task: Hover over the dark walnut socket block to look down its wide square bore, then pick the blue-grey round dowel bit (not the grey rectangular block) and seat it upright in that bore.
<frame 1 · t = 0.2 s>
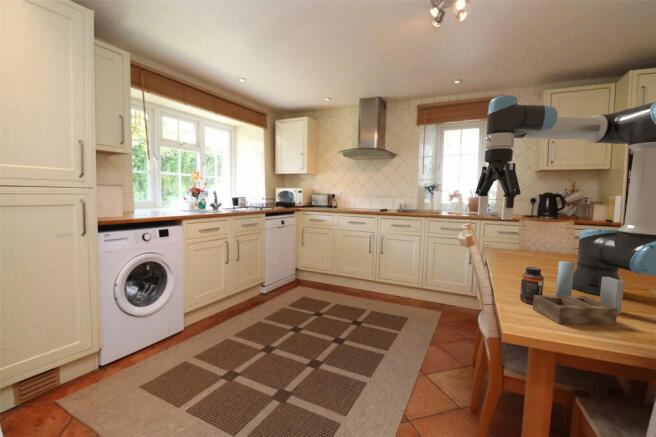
hand: (493, 217, 95), 27 cm above the table, tool pointing down, fingers open, 13 cm apart
supplement bottle: (530, 302, 98), on the table
dowel bit: (562, 300, 99), on the table
grey rectangular block: (609, 310, 92), on the table
socket block: (571, 316, 86), on the table
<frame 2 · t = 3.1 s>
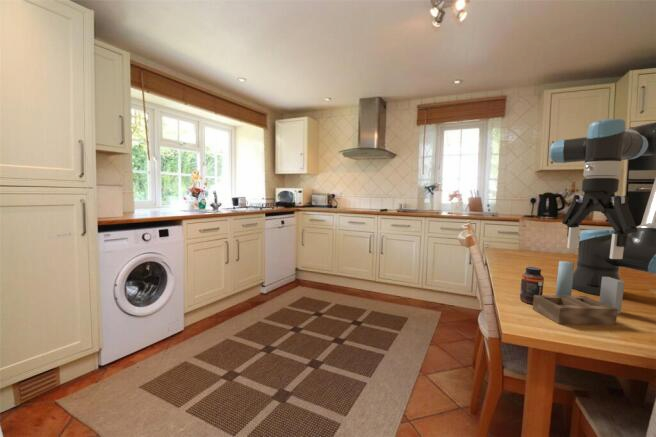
hand: (592, 253, 85), 19 cm above the table, tool pointing down, fingers open, 13 cm apart
nothing on the table moved.
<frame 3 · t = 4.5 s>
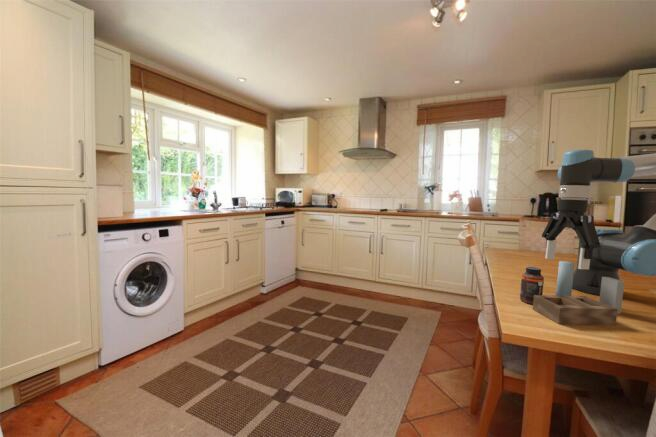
hand: (565, 263, 98), 13 cm above the table, tool pointing down, fingers open, 13 cm apart
nothing on the table moved.
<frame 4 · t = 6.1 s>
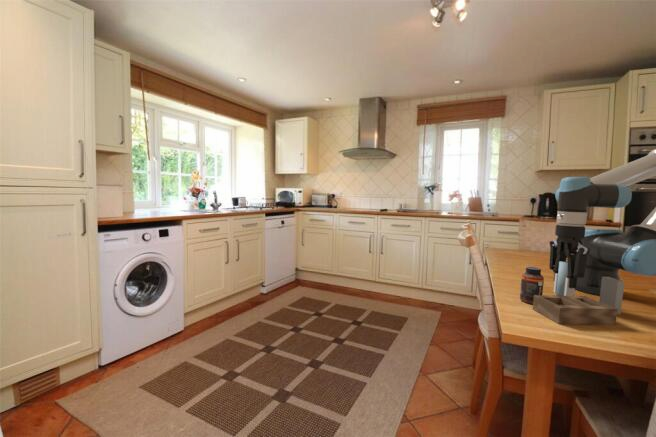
hand: (563, 294, 99), 2 cm above the table, tool pointing down, fingers closed on dowel bit, 4 cm apart
dowel bit: (563, 300, 99), on the table, touching gripper
everything else where it was.
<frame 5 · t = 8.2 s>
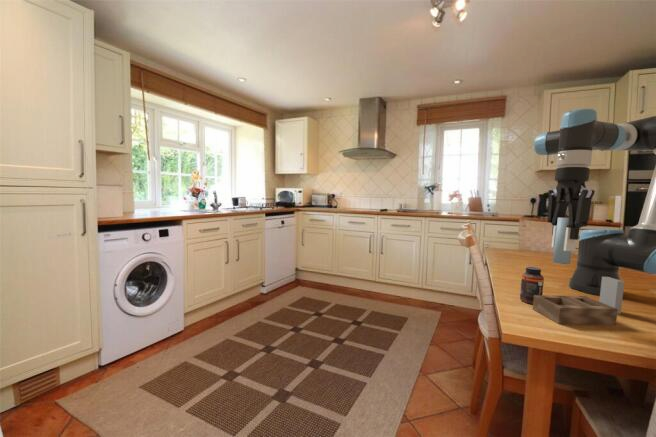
hand: (562, 249, 86), 19 cm above the table, tool pointing down, fingers closed on dowel bit, 4 cm apart
dowel bit: (561, 262, 86), point 15 cm above the table, touching gripper
everything else where it was.
when the fingers open (6 cm above the table, at t = 10.2 s): dowel bit drops 1 cm, resting in socket block.
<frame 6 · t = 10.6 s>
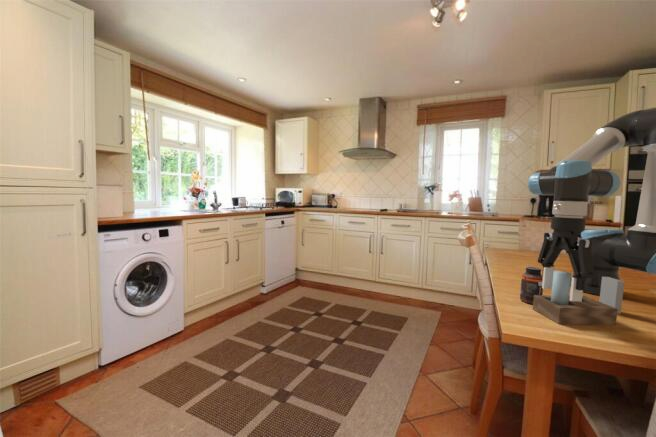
hand: (560, 294, 86), 7 cm above the table, tool pointing down, fingers open, 9 cm apart
dowel bit: (558, 316, 86), resting in socket block
everything else where it was.
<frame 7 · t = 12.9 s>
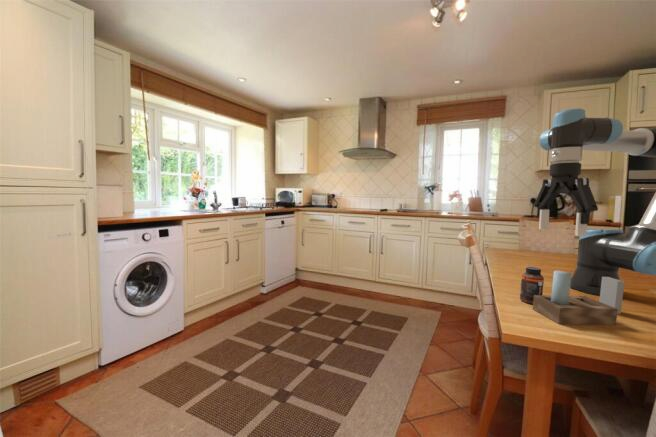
hand: (560, 232, 93), 24 cm above the table, tool pointing down, fingers open, 13 cm apart
nothing on the table moved.
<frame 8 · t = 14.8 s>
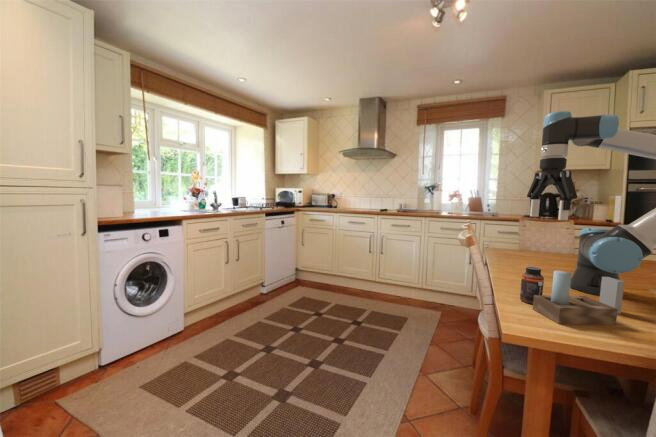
hand: (547, 218, 107), 27 cm above the table, tool pointing down, fingers open, 13 cm apart
nothing on the table moved.
at the end: dowel bit 0.1 cm from the target spot on the socket block, point 0.0 cm above the socket block's base; dowel bit tilted 0°; the gripper is holding nothing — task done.
